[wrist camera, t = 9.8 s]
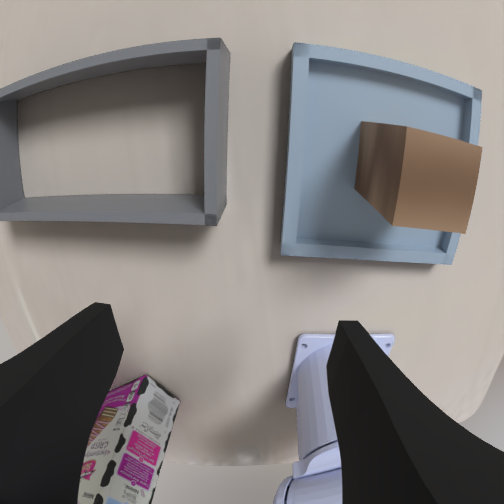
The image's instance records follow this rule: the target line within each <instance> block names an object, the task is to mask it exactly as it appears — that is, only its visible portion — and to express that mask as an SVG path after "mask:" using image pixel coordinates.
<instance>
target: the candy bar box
mask: <svg viewBox="0 0 504 504" xmlns="http://www.w3.org/2000/svg"><path fill="white" fill-rule="evenodd" d="M179 404H180V400H179V399H178V398H177V397H175V396H174V395H173V394H171V393H170V392H169V391H167V390H166V389H165V388H164V387H163V386H162V385H160V384H159V383H158V382H157V381H156V380H154V379H153V378H151V377H150V376H149V375H144V376H142V377H140V378H138V379H136V380H134V381H131V382H129V383H127V384H125V385H123V386H121V387H118V388H116V389H114V390H112V391H109V392H108V394H107V396H106V398H105V401H104V403H103V405H102V407H101V410H100V412H99V414H98V416H97V419H96V421H95V423H94V426H93V429H92V431H91V434H90V437H89V441H88V445H87V449H86V453H85V457H84V461H83V466H82V471H81V477H80V484H79V492H78V503H77V504H151V502H152V499H153V495H154V491H155V488H156V484H157V480H158V477H159V473H160V469H161V466H162V462H163V459H164V456H165V451H166V448H167V445H168V441H169V438H170V434H171V431H172V428H173V424H174V420H175V417H176V414H177V410H178V407H179Z"/></svg>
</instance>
